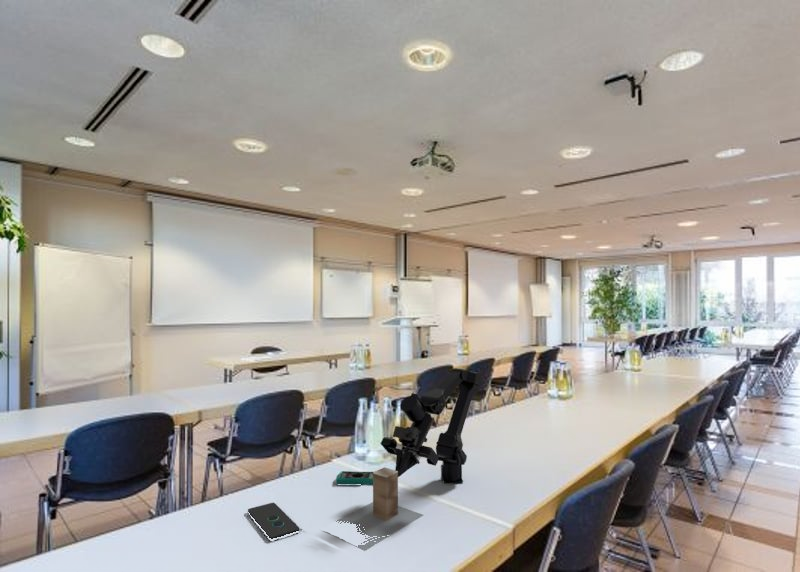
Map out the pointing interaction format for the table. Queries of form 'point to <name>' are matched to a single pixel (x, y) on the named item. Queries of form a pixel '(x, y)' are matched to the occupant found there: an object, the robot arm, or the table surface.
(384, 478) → the walnut block
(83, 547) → the table surface
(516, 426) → the table surface
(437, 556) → the table surface
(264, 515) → the dark grey notebook
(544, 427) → the table surface
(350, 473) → the digital multimeter
